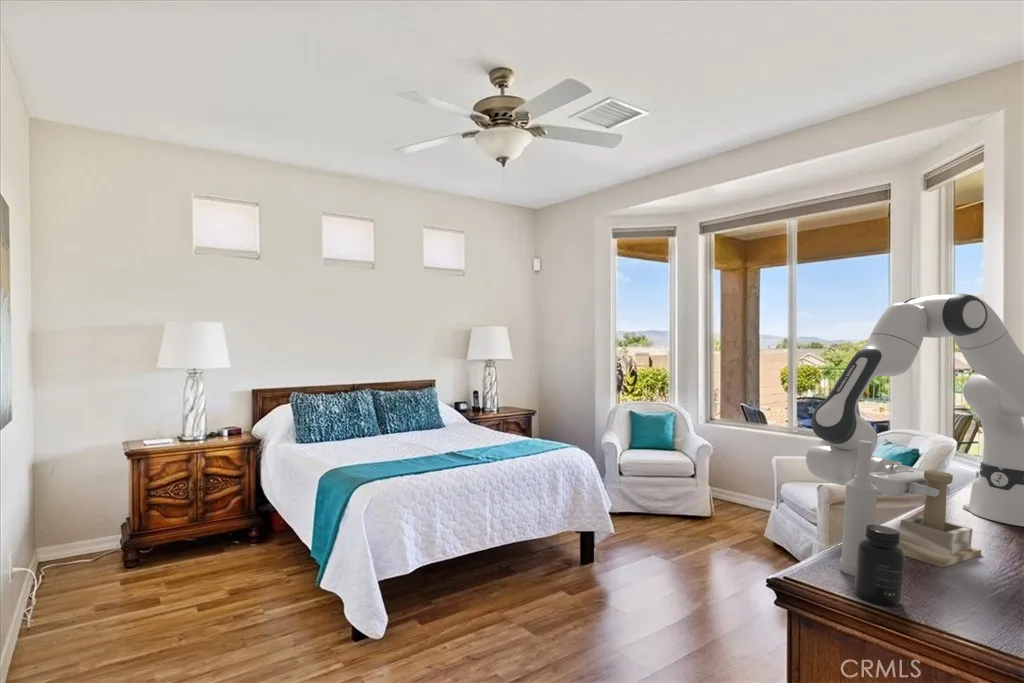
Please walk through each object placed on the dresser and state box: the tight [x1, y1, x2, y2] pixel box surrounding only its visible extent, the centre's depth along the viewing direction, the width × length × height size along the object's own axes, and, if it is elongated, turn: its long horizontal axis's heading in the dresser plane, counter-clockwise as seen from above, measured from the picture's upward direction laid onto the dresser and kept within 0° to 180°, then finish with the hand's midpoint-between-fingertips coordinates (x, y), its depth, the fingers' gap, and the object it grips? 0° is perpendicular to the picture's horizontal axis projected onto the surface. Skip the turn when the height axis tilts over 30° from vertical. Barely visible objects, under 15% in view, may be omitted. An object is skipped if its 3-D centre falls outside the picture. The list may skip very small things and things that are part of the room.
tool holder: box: [897, 514, 983, 569], centre depth 124 cm, size 18×12×6 cm, turn 121°
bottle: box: [838, 440, 878, 577], centre depth 109 cm, size 5×5×25 cm
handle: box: [923, 469, 954, 531], centre depth 126 cm, size 5×6×15 cm
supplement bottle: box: [854, 524, 906, 608], centre depth 98 cm, size 7×7×12 cm
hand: (943, 491), depth 124 cm, fingers closed on handle, 3 cm apart
